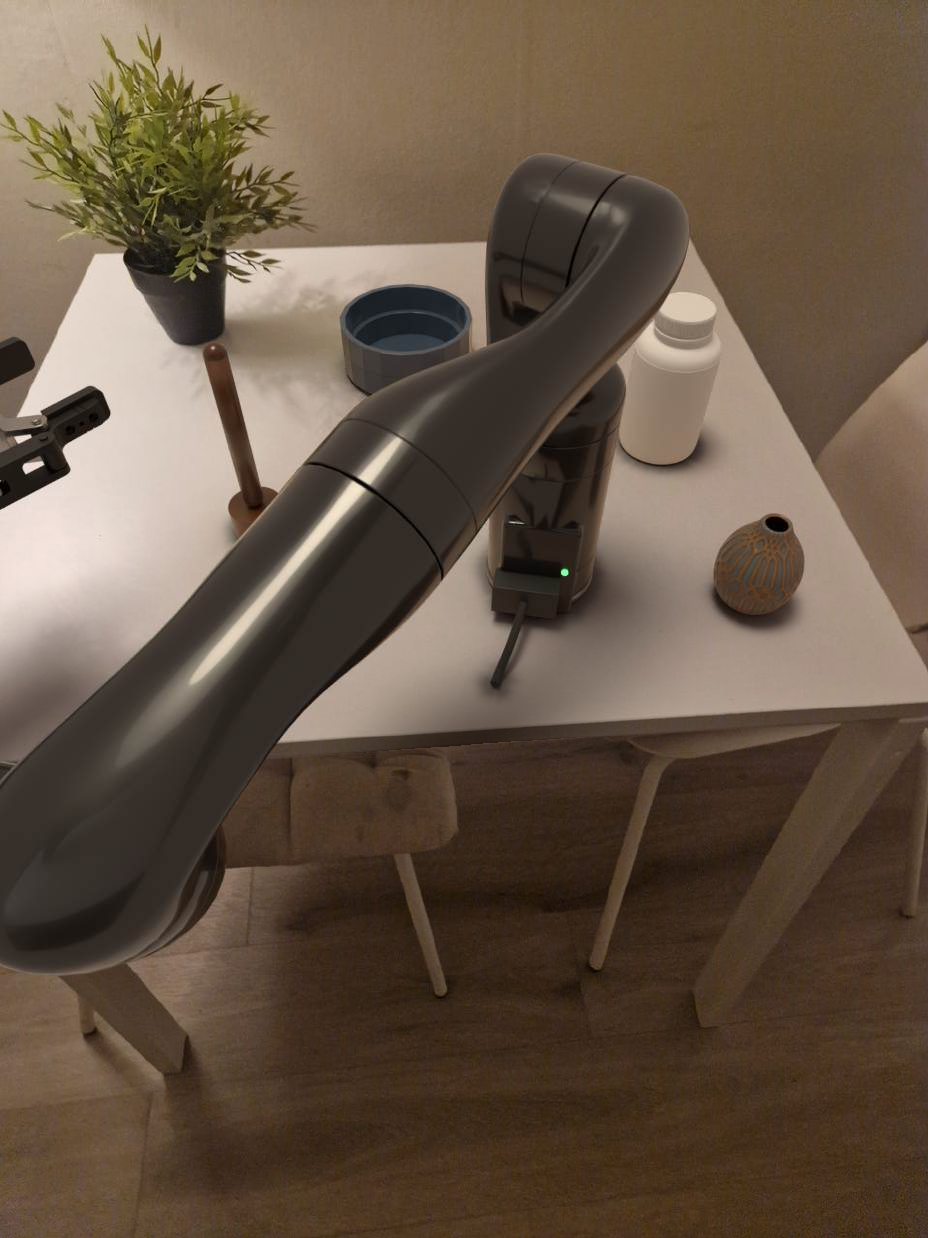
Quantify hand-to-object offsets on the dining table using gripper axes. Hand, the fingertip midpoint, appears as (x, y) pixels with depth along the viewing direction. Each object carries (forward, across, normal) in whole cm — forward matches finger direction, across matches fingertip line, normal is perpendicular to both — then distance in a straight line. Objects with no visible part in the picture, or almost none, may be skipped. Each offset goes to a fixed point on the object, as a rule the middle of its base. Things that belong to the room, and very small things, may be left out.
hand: (64, 374), depth 51 cm
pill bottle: (+46, +22, -22) cm, 55 cm away
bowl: (+39, -7, -22) cm, 46 cm away
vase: (+32, +39, -22) cm, 55 cm away
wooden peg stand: (+11, 0, -22) cm, 25 cm away
